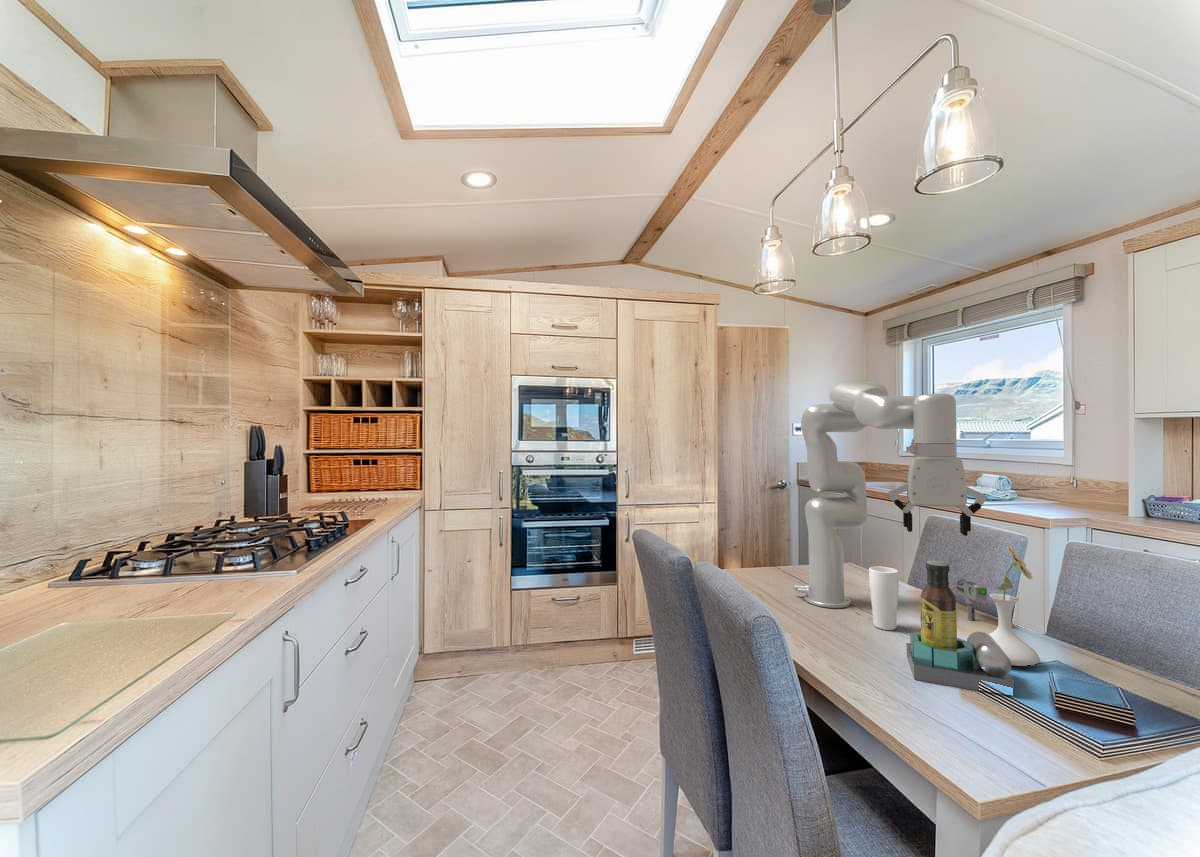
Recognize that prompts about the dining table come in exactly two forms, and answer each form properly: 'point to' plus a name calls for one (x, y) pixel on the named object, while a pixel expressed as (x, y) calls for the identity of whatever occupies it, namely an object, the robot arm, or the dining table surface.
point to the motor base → (954, 675)
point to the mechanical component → (971, 594)
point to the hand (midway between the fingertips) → (936, 532)
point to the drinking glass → (884, 596)
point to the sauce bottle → (938, 608)
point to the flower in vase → (1004, 634)
